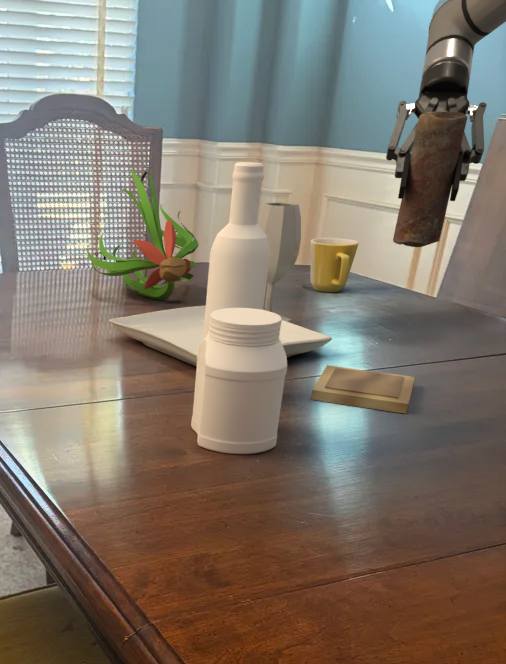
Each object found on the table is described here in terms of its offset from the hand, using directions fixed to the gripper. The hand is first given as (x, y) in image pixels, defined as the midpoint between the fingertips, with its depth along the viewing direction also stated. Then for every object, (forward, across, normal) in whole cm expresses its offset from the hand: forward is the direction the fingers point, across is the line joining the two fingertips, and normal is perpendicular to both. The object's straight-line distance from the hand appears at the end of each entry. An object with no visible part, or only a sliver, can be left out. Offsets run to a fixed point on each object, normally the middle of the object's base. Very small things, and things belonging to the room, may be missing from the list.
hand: (427, 193), depth 123 cm
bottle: (+44, +24, +9) cm, 51 cm away
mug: (-12, +14, -46) cm, 50 cm away
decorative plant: (+2, +50, -33) cm, 60 cm away
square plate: (+27, +30, -8) cm, 41 cm away
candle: (+4, 0, -9) cm, 9 cm away
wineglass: (+12, +24, -22) cm, 35 cm away
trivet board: (+38, +5, +3) cm, 38 cm away
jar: (+55, +20, +20) cm, 62 cm away
